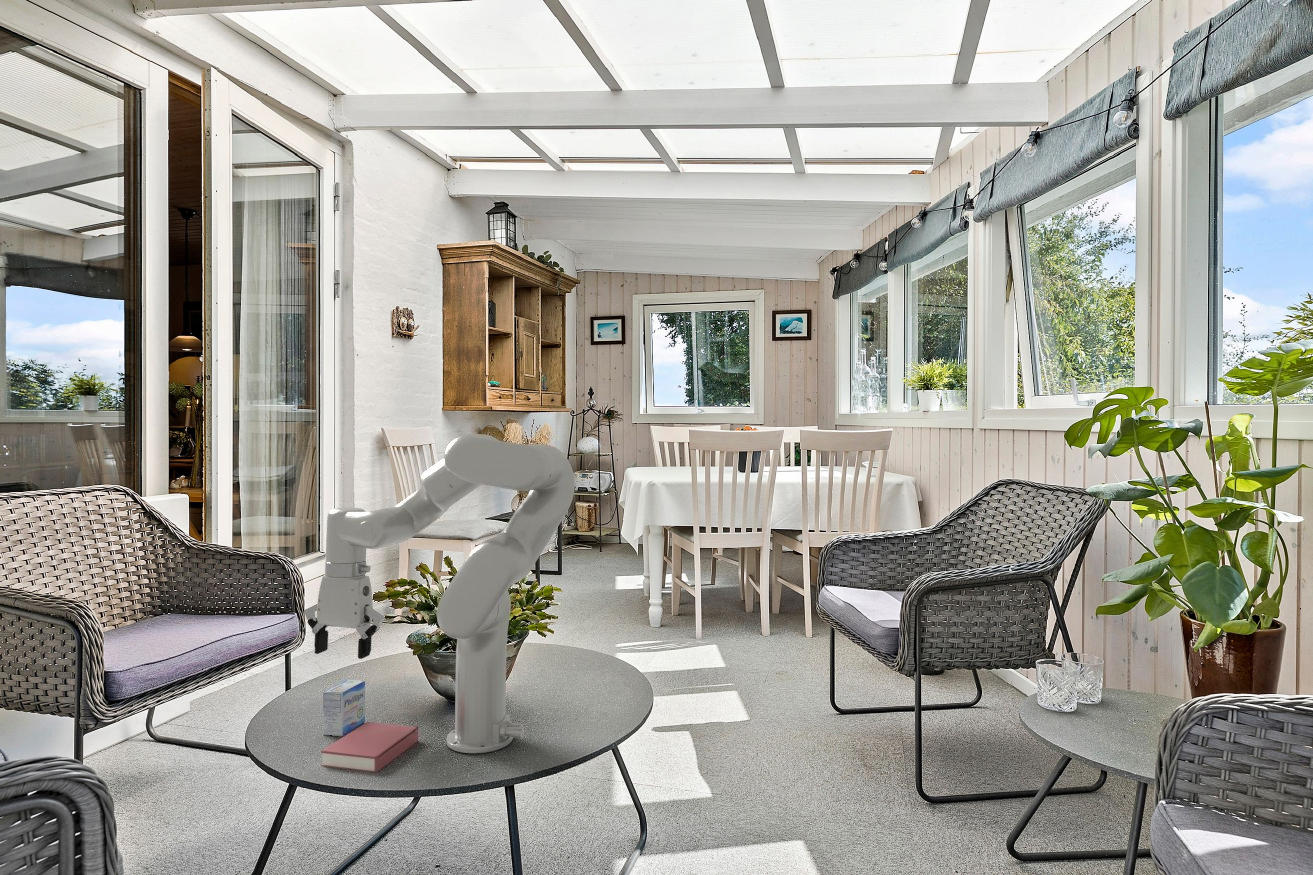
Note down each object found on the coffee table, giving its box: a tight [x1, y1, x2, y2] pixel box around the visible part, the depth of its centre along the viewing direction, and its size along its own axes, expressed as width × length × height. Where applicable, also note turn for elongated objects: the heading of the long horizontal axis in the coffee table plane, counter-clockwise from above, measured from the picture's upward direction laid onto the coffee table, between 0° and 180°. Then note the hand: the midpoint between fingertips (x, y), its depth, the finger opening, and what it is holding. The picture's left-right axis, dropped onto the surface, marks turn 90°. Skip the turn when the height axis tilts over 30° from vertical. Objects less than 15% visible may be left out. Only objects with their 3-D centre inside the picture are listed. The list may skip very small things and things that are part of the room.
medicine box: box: [322, 679, 366, 738], centre depth 151 cm, size 8×4×9 cm, turn 168°
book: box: [321, 721, 419, 774], centre depth 140 cm, size 11×14×3 cm
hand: (342, 654), depth 151 cm, fingers open, 9 cm apart
